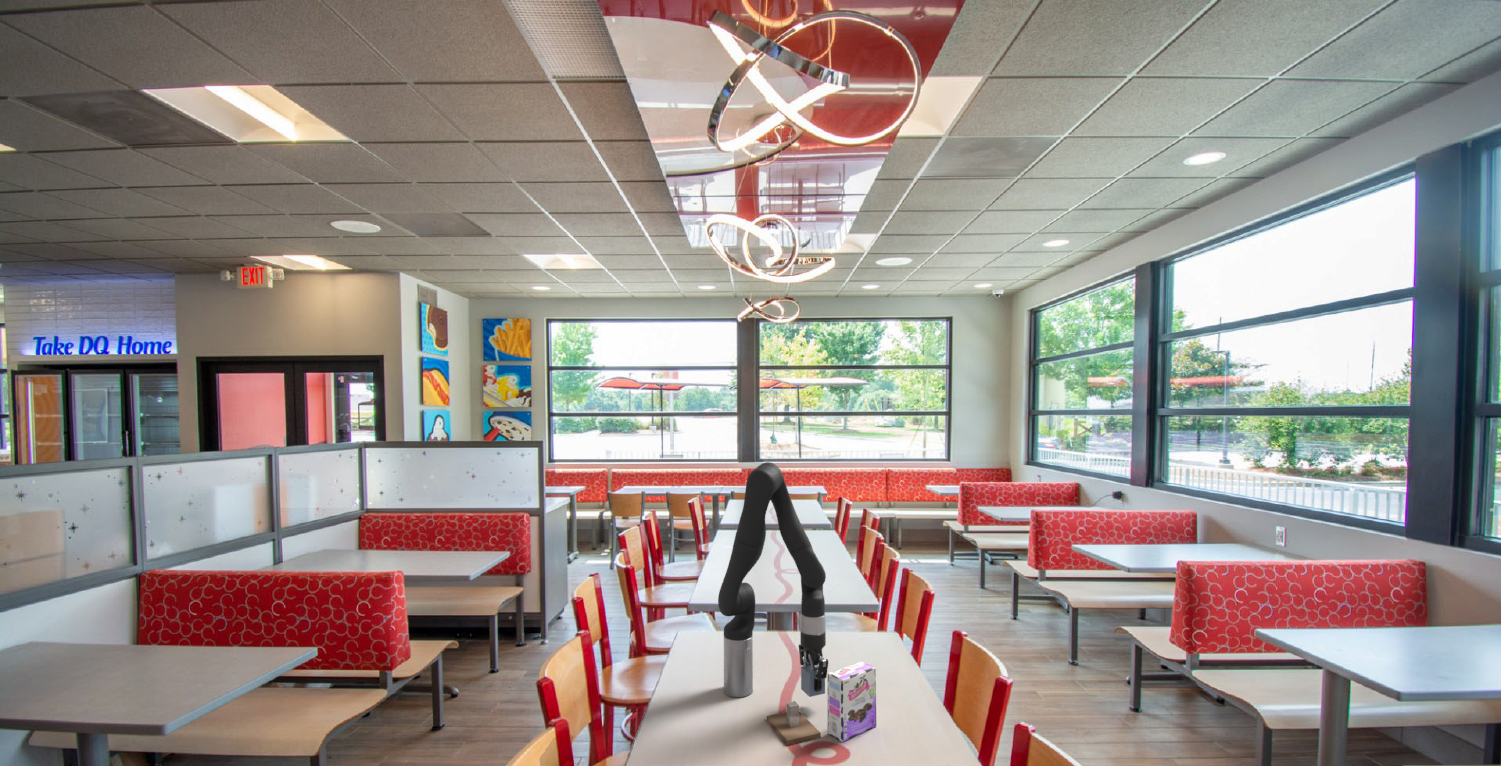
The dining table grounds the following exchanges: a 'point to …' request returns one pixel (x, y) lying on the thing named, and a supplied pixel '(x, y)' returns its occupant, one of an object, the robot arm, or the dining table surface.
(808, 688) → the blue-gray block
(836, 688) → the candy box
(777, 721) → the post stand
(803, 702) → the dining table surface
